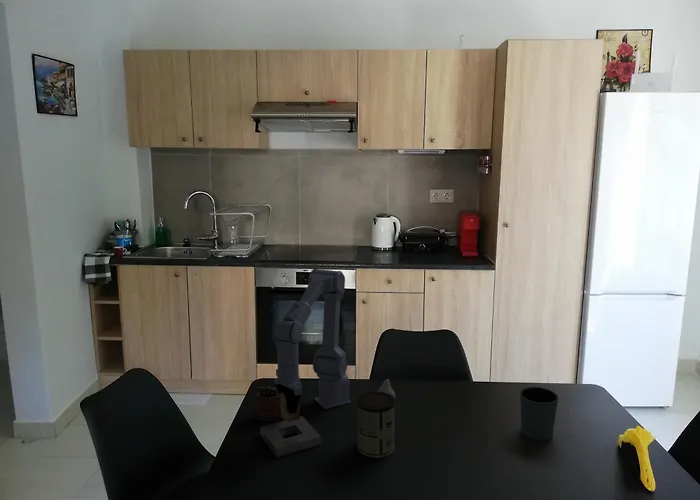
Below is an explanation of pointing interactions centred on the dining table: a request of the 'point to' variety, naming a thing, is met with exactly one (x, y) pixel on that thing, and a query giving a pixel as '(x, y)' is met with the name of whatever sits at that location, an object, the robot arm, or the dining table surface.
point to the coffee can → (376, 424)
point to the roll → (386, 388)
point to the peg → (284, 410)
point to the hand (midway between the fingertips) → (289, 409)
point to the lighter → (267, 404)
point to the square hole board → (286, 446)
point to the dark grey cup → (538, 412)
